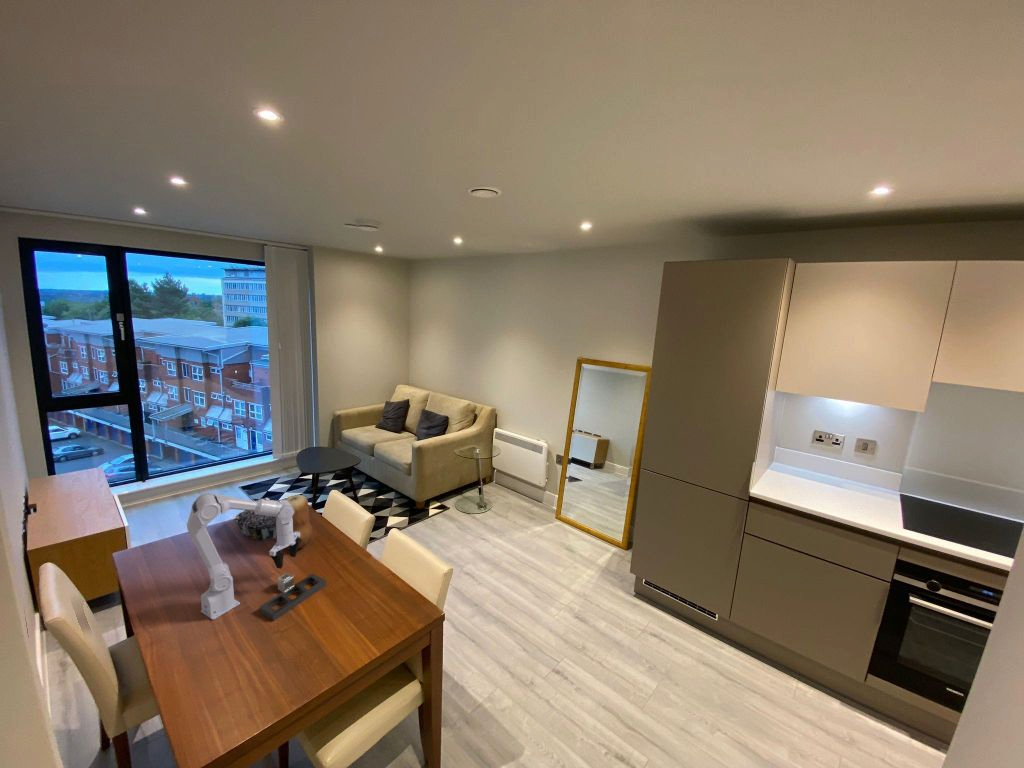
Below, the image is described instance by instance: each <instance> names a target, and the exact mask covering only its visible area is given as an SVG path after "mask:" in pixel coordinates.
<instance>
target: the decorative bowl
mask: <svg viewBox="0 0 1024 768" xmlns="http://www.w3.org/2000/svg"><path fill="white" fill-rule="evenodd" d="M233 523H235V524H236V526H237V527H238V529H239V531H240V532H241V534H242V535H243V536H245V537H247V538H248V539H252V540H255V541H256V542H261V541H267V540H274V539H277V529H276V516H266V515H257V514H255V512H254V511H251V510H242V511H240V512H238V514H236V515H235V518H234V521H233Z"/></svg>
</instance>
